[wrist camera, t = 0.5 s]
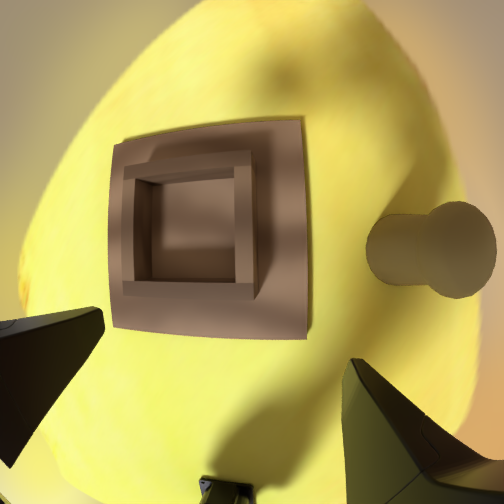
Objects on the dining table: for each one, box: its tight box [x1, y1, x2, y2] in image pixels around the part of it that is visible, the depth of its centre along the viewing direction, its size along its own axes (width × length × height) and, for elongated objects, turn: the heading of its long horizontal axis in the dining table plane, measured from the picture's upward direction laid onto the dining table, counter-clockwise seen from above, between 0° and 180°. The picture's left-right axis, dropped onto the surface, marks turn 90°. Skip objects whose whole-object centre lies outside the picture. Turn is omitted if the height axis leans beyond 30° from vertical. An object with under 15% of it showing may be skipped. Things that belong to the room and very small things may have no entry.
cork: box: [366, 201, 497, 299], centre depth 15 cm, size 6×6×11 cm
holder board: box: [108, 120, 308, 340], centre depth 21 cm, size 18×18×4 cm
